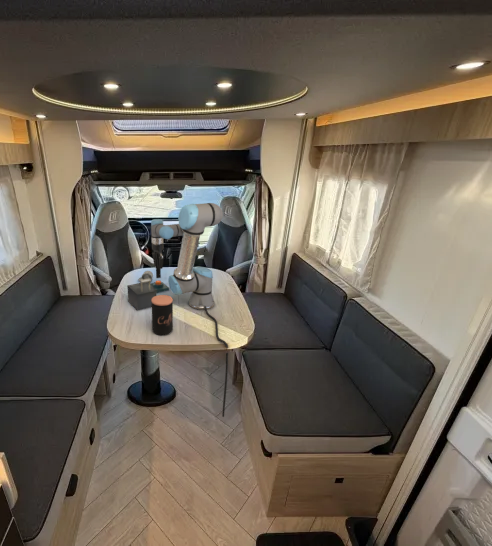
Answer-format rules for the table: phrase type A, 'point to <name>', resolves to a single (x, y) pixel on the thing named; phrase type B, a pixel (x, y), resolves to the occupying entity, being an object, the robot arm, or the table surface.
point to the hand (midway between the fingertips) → (158, 277)
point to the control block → (160, 287)
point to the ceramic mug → (146, 276)
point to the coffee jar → (162, 314)
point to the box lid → (142, 287)
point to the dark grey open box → (140, 300)
